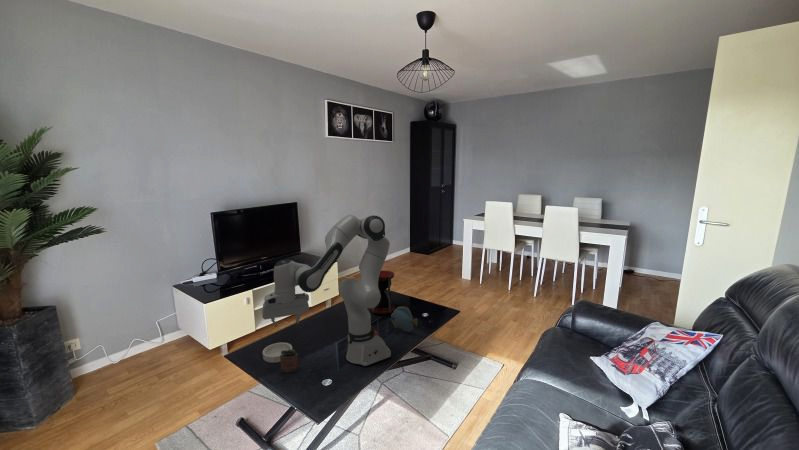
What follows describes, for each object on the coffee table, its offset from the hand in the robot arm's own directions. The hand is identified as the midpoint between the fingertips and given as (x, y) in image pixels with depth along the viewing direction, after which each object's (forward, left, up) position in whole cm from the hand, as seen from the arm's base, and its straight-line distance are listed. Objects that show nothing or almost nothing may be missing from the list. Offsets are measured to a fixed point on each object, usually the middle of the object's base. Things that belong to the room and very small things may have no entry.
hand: (286, 324), depth 154 cm
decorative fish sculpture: (-65, -14, -23) cm, 70 cm away
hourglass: (-65, -47, -23) cm, 83 cm away
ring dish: (+4, -16, -23) cm, 28 cm away
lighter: (0, 0, -23) cm, 23 cm away
